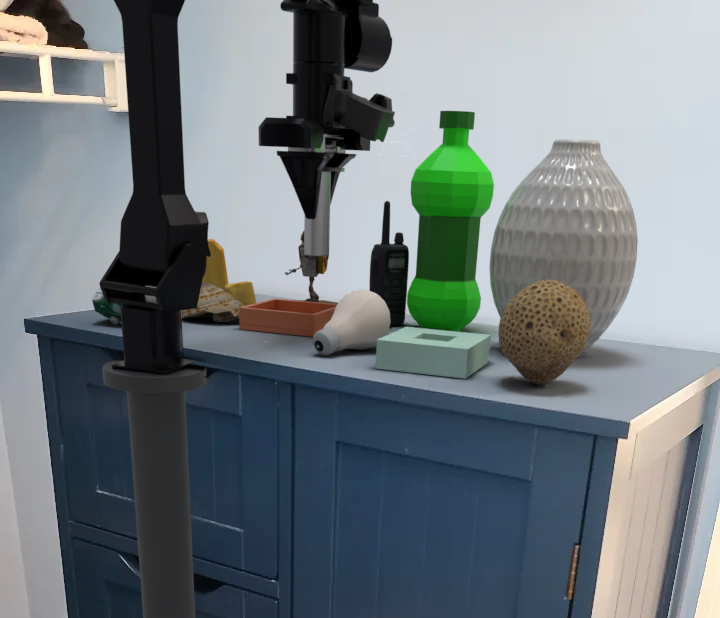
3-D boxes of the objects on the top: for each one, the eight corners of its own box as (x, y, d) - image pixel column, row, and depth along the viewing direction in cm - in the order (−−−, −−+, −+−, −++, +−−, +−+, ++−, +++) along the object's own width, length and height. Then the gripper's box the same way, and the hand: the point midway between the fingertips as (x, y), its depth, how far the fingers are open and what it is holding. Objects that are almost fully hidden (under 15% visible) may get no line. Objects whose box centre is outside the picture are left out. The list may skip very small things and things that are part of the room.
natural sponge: (570, 399, 90) (586, 288, 86) (480, 388, 93) (491, 280, 88) (588, 382, 98) (603, 279, 93) (505, 372, 101) (515, 272, 96)
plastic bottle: (495, 330, 125) (517, 114, 114) (449, 339, 118) (467, 109, 106) (434, 321, 131) (449, 114, 119) (386, 328, 123) (397, 108, 112)
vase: (646, 356, 112) (682, 144, 102) (570, 372, 102) (601, 138, 92) (534, 336, 122) (556, 141, 112) (453, 349, 112) (470, 135, 101)
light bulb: (306, 376, 108) (367, 338, 114) (348, 374, 103) (408, 335, 109) (287, 319, 104) (351, 283, 110) (329, 315, 100) (393, 278, 106)
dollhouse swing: (259, 304, 138) (258, 236, 134) (225, 312, 130) (223, 240, 126) (197, 298, 142) (194, 231, 138) (161, 305, 134) (157, 235, 130)
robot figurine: (292, 304, 139) (293, 215, 134) (354, 309, 138) (357, 219, 132) (271, 315, 130) (271, 219, 124) (337, 319, 128) (340, 223, 123)
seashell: (223, 309, 118) (177, 277, 120) (211, 350, 121) (166, 317, 123) (263, 302, 124) (219, 272, 126) (251, 341, 127) (208, 311, 129)
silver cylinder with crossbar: (336, 257, 112) (338, 163, 107) (287, 253, 114) (287, 161, 109) (345, 255, 114) (348, 164, 110) (297, 252, 116) (298, 161, 112)
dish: (314, 337, 115) (314, 314, 114) (239, 329, 118) (238, 307, 117) (344, 325, 124) (345, 304, 123) (274, 318, 127) (274, 298, 126)
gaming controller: (104, 334, 121) (80, 304, 116) (114, 309, 122) (91, 278, 117) (166, 342, 118) (144, 311, 113) (176, 316, 119) (155, 284, 114)
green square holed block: (465, 379, 97) (468, 348, 95) (375, 368, 100) (376, 339, 98) (488, 362, 105) (490, 334, 104) (404, 353, 108) (405, 326, 106)
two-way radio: (378, 328, 123) (384, 201, 117) (357, 323, 126) (361, 199, 120) (410, 325, 127) (417, 201, 120) (389, 320, 130) (395, 199, 123)
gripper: (354, 56, 95) (350, 226, 102) (414, 72, 110) (406, 219, 117) (255, 56, 98) (257, 220, 105) (326, 71, 114) (324, 214, 121)
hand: (316, 218), depth 112 cm, fingers closed on silver cylinder with crossbar, 3 cm apart
